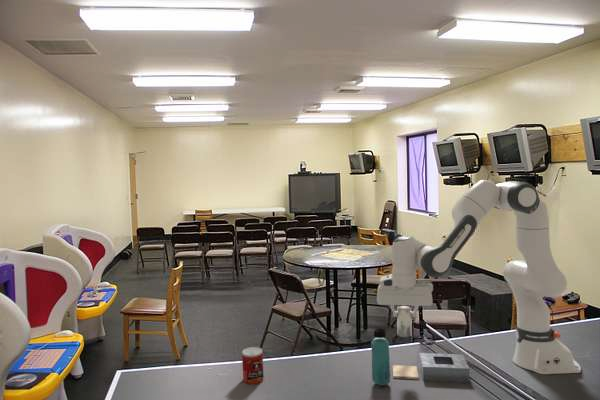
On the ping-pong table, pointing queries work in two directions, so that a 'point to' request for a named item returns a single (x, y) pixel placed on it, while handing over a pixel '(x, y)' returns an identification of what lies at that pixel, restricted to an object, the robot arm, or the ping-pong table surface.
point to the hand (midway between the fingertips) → (404, 316)
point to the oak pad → (405, 372)
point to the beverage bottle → (380, 358)
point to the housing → (444, 367)
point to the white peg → (404, 321)
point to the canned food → (252, 365)
